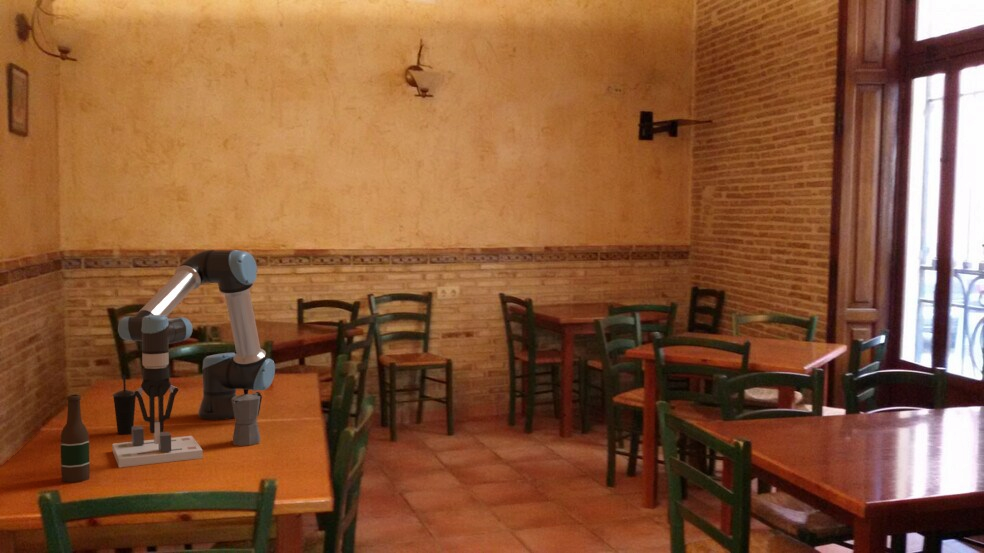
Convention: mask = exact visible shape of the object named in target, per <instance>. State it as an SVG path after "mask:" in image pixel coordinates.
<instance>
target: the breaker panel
mask: <svg viewBox="0 0 984 553" xmlns="http://www.w3.org/2000/svg"><path fill="white" fill-rule="evenodd" d="M203 452H204V450H203V449H202V447H201V446H200V444H199V443H198V442H197V441H196V439H195V438H194V437H193V435H187V436H175V437H171V451H170V452H160V450H159V444H155V443H154V439H147V440H145V439H144V445H135V446H134V445H133V443H132V441H126V442H118V443H112V453H113V455H114V456H113V457H114V458H115V461H116V463H117V466H118V468H120V469H121V468H125V467H126V468H127V467H137V466H144V465H146V466H147V465H153V464H163V463H172V462H180V461H187V460H188V461H191V460H198V459H199V460H200V459H203V458H204V453H203Z"/></svg>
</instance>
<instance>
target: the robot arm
mask: <svg viewBox="0 0 984 553" xmlns="http://www.w3.org/2000/svg"><path fill="white" fill-rule="evenodd" d="M257 273H258V267H257V262H256V260H255V258H254V256H253V255H252V254H250V253H249V252H248V251H245V250H239V249H238V250H237V249H234V250H223V249H222V250H221V249H219V250H218V249H217V250H215V249H207V250H202V251H199V252H197V253H195V254H193V255H192V256H190V257H188V258H187V259H186V260H184V261H183V262H182V263H181V264H180V265H179V266H178V267H176V269H175V270H174V275H173V276H172V277H171V278H170V279H169V280H168V281H167V282H166V283H165V284H164V285H163V286H162V287H161V288H160V289H159V290H158V291H157V292H156V294H154V295H153V296H152V297H151V298H150V300H149V301H148V302H147V303H146V304H145V305H144V306H143V307H142V308H141V309H140V310H139V311H138V312H137V313H136V314H135V315H134V316H132V315H129V316H124V317H122V318H121V319H120V320H119V322H118V325H117V333H118V335H119V337H120V338H121V339H122V340H125V341H132V342H142V344H141V346H142V351H141V354H142V355H141V356H142V361H141V362H142V364H141V365H142V366H143V367H142V382H141V384H140V387H138V388H137V389H134V390H133V391H134V394H135V395H136V399H137V401H138V405H139V408H140V411H141V414H142V418H143V420H144V422H148V423H149V432H150V433H151V434H153V440H154V443H155V444H160V432H165V431H164V430H165V427H164V426H165V425H164V423H165V421H166V420H169V419H170V418H171V414H172V410H173V407H174V402H175V397H176V395H177V393H178V392H179V388H178V387H177V386H174V385H172V383H171V381H170V368H169V366H168V365H169V363H170V360H169V359H170V358H169V345H170V344H171V345H172V344H175V343H179V342H180V343H182V342H183V341H186V340H188V339H189V338H190V337H191V336H192V333H193V325H192V323H191V321H190V320H189V319H188V318H186V317H181V316H180V317H178V316H177V317H174V318H172V317H171V318H168V316H169V315H170V314H171V313H172V312H173V311H174V310H175V308H176V307H177V306H178V305H179V304H180V303H181V302H182V301H183V300H184V299H185V298H186V297H187V295H188V294H189V293H190V292H191V291H192V290H196V289H198V288H199V287H200V286H201V285H204V284H217V285H218V290H219V292H220V293H221V294H223V295H224V297H225V303H226V307H227V312H228V313H227V314H228V317H229V318H228V319H229V322H230V327H231V331H232V332H231V333H232V337H233V343H234V346H235V352H236V353H235V352H224V353H217V354H212V355H207V356H205V357H204V358H203V360H202V385H203V386H202V391H203V393H202V399H201V402H200V405H199V409H198V418H199V419H202V420H208V421H220V420H229V419H231V420H232V419H235V418H234V412H233V406H232V398H233V397H235V396H237V395H236V393H237V390H244V389H249V390H248V391H255V392H258V391H265V390H268V389H269V388H270V386H271V384H272V383H273V381H274V377H275V373H276V364H275V362H274V360H273V359H272V358H270V357H269V358H268V357H267V352H266V350H265V349H263V348H261V343H260V338H259V333H258V328H257V323H256V317H255V312H254V307H253V302H252V296H251V291H250V290H251V289H252V287H253V286H254V283H255V281H256V280H257V277H258V275H257ZM168 391H169V396H168V400H167V405H166V408H165V410H164V396H165V395H166V393H168ZM143 392H144V393H145V394H146V395H147V396H148V400H149V401H148V404H149V409H148V410H149V416H148V413H147V410H146V406H145V402H144V399H143V397H142V396H143V394H144V393H143ZM155 398H157V404H158V407H157V408H158V410H157V411H158V415H157V416H158V417H157V418H158V420H156V418H155V416H156V415H155V412H156V410H155V408H156V407H155V400H156V399H155ZM164 411H165V413H164Z"/></svg>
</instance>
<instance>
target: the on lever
mask: <svg viewBox="0 0 984 553" xmlns="http://www.w3.org/2000/svg"><path fill="white" fill-rule="evenodd" d="M144 433H145V432H144V427H143V425H133V426H132V433H131V442H132V443H133V445H134V446H135V445H144V441H145V439H144V438H145V434H144Z"/></svg>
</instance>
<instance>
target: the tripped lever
mask: <svg viewBox="0 0 984 553" xmlns="http://www.w3.org/2000/svg"><path fill="white" fill-rule="evenodd" d="M171 438H172V435H171V433H170V432H169V431H163V432H160V444H159V450H160V452H170V451H171Z"/></svg>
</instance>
